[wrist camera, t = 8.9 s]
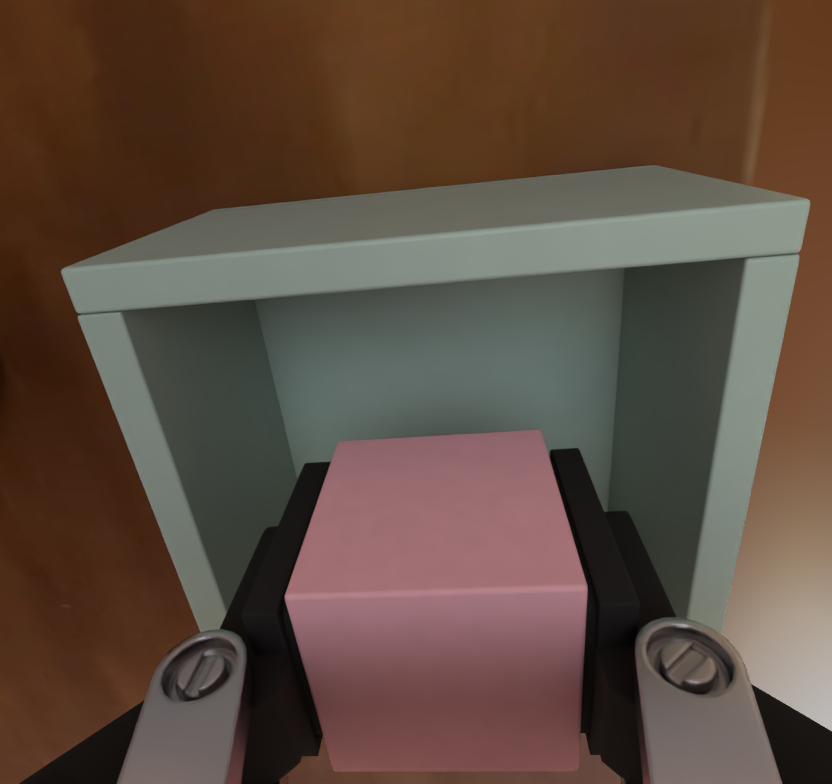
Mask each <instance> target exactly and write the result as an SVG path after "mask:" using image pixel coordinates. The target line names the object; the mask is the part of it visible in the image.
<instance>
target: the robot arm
mask: <svg viewBox="0 0 832 784" xmlns="http://www.w3.org/2000/svg"><path fill="white" fill-rule="evenodd" d="M549 458H550V461H551V465H552V468H553V472H554V475H555V478H556V482H557V485H558V488H559V492H560V495H561V499H562V502H563V505H564V509H565V512H566V515H567V519H568V522H569V525H570V529H571V532H572V536H573V539H574V542H575V546H576V549H577V552H578V556H579V559H580V563H581V566H582V569H583V573H584V576H585V579H586V583H587V586H588V594H587V614H586V633H585V653H584V672H583V692H582V711H581V731H580V733H586V737H587V742H588V746H589V751H590V755H600V756H601V760H602V762H603V763H605V764H606V765H607V766H608V767H610V768H611V769H612V770H613V771H614V772H616V773H617V774H618V775H619V776H620V777H621V784H832V731H830V730H828V729H827V728H825V727H823V726H821V725H820V724H818V723H816V722H815V721H813V720H811V719H810V718H808V717H806V716H805V715H803V714H801V713H799V712H798V711H796V710H794V709H792V708H791V707H789V706H788V705H786V704H784V703H782V702H781V701H779V700H777V699H776V698H774V697H772V696H771V695H769V694H767V693H765V692H763V691H762V690H760V689H759V688H757V687H755V686H753V685H752V684H751V682H750V680H749V676H748V673H747V670H746V667H745V664H744V662H743V660H742V658H741V656H740V654H739V652H738V651H737V650H736V649H735V647H734V646H733V645H732V644H731V643H730V642H729V641H728V640H727V639H726V638H725V637H724V636H722V635H721V634H720V633H718V632H717V631H715V630H714V629H713V628H711V627H708V626H706V625H704V624H702V623H699V622H697V621H694V620H689V619H685V618H681V617H677V616H676V614H675V612H674V610H673V608H672V606H671V603H670V601H669V599H668V597H667V595H666V592H665V590H664V588H663V586H662V584H661V581H660V579H659V577H658V575H657V573H656V571H655V568H654V566H653V564H652V562H651V560H650V557H649V555H648V553H647V551H646V549H645V546H644V544H643V542H642V540H641V538H640V536H639V533H638V531H637V529H636V527H635V525H634V522H633V520H632V518H631V516H630V515H629V513H628V512H626V511H610V512H604V510H603V508H602V505H601V503H600V500H599V498H598V495H597V493H596V490H595V488H594V485H593V482H592V480H591V477H590V475H589V472H588V470H587V467H586V465H585V462H584V460H583V457H582V455H581V452H580V450H579V448H567V449H551V450H550V454H549ZM330 463H331V462H314V463H305V464H304V466H303V468H302V471H301V473H300V475H299V478H298V480H297V482H296V485H295V487H294V490H293V492H292V494H291V497H290V499H289V501H288V504H287V506H286V509H285V511H284V513H283V516H282V518H281V520H280V523H279V525H278V526H272V527H268V528H266V529H265V531H264V532H263V534H262V536H261V538H260V540H259V542H258V545H257V547H256V549H255V551H254V554H253V556H252V558H251V560H250V562H249V565H248V567H247V569H246V571H245V574H244V576H243V578H242V580H241V582H240V585H239V587H238V589H237V591H236V593H235V596H234V598H233V600H232V602H231V605H230V607H229V609H228V611H227V613H226V616H225V618H224V620H223V622H222V625H221V627H220V629H215V630H207V631H204V632H200V633H197V634H194V635H192V636H190V637H189V638H187V639H185V640H183V641H181V642H180V643H179V644H177V645H176V646H175V647H174V648H172V649H171V650H170V651H169V652H168V653H167V654H166V655H165V656H164V658H163V659H162V660H161V661H160V662H159V664H158V666H157V668H156V670H155V672H154V674H153V676H152V679H151V682H150V685H149V688H148V691H147V694H146V697H145V700H144V701H143V702H141V703H140V704H138V705H137V706H135V707H134V708H132V709H131V710H129V711H128V712H126V713H125V714H123V715H122V716H120V717H119V718H117V719H116V720H114V721H113V722H111V723H110V724H108V725H107V726H105V727H103V728H102V729H100V730H99V731H97V732H96V733H94V734H93V735H91V736H90V737H88V738H87V739H85V740H84V741H82V742H81V743H79V744H78V745H76V746H75V747H73V748H72V749H70V750H69V751H67V752H66V753H64V754H63V755H61V756H60V757H58V758H57V759H55V760H54V761H52V762H51V763H49V764H48V765H46V766H45V767H43V768H42V769H40V770H39V771H37V772H36V773H34V774H33V775H31V776H30V777H28V778H27V779H25V780H24V781H22V782H21V783H20V784H288V772H289V771H291V770H292V769H293V768H294V767H295V766H296V765H298V764H299V763H300V761H301V757H302V756H318V754H319V749H320V744H321V739H322V735H323V733H322V729H321V726H320V722H319V719H318V715H317V711H316V708H315V704H314V701H313V697H312V694H311V690H310V687H309V683H308V680H307V676H306V673H305V669H304V666H303V662H302V659H301V655H300V651H299V648H298V644H297V641H296V637H295V634H294V630H293V627H292V623H291V620H290V616H289V613H288V609H287V606H286V602H285V593H286V590H287V588H288V585H289V582H290V579H291V576H292V573H293V570H294V567H295V564H296V561H297V559H298V556H299V553H300V550H301V547H302V544H303V541H304V538H305V535H306V533H307V530H308V527H309V524H310V521H311V518H312V515H313V512H314V509H315V506H316V504H317V501H318V498H319V495H320V492H321V489H322V486H323V483H324V480H325V477H326V475H327V472H328V469H329V466H330Z"/></svg>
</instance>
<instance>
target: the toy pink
mask: <svg viewBox="0 0 832 784" xmlns="http://www.w3.org/2000/svg"><path fill="white" fill-rule="evenodd" d="M587 594H588V586H587V583H586V579H585V576H584V573H583V569H582V566H581V563H580V559H579V556H578V552H577V549H576V546H575V542H574V539H573V536H572V532H571V529H570V525H569V522H568V519H567V515H566V512H565V509H564V505H563V502H562V499H561V495H560V492H559V488H558V485H557V482H556V478H555V475H554V472H553V468H552V465H551V461H550V458H549V455H548V451H547V448H546V445H545V441H544V438H543V434H542V432H541V431H540V430H523V431H506V432H489V433H472V434H455V435H438V436H420V437H403V438H386V439H369V440H352V441H340V442H338V443H337V446H336V448H335V451H334V454H333V457H332V460H331V463H330V466H329V469H328V472H327V475H326V477H325V480H324V483H323V486H322V489H321V492H320V495H319V498H318V501H317V504H316V506H315V509H314V512H313V515H312V518H311V521H310V524H309V527H308V530H307V533H306V535H305V538H304V541H303V544H302V547H301V550H300V553H299V556H298V559H297V561H296V564H295V567H294V570H293V573H292V576H291V579H290V582H289V585H288V588H287V590H286V593H285V602H286V606H287V609H288V613H289V616H290V620H291V623H292V627H293V630H294V634H295V637H296V641H297V644H298V648H299V651H300V655H301V659H302V662H303V666H304V669H305V673H306V676H307V680H308V683H309V687H310V690H311V694H312V697H313V701H314V704H315V708H316V711H317V715H318V719H319V722H320V726H321V729H322V733H323V736H324V740H325V743H326V747H327V750H328V754H329V757H330V761H331V764H332V768H333V770H334V771H337V772H349V771H576V770H578V767H579V750H580V731H581V711H582V692H583V672H584V653H585V633H586V614H587Z"/></svg>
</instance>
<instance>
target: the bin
mask: <svg viewBox="0 0 832 784" xmlns="http://www.w3.org/2000/svg"><path fill="white" fill-rule="evenodd" d="M809 208H810V201H809V200H808V199H805V198H801V197H797V196H792V195H787V194H783V193H779V192H774V191H770V190H765V189H761V188H756V187H752V186H747V185H743V184H738V183H734V182H729V181H725V180H720V179H715V178H711V177H706V176H702V175H697V174H693V173H688V172H684V171H679V170H675V169H670V168H666V167H662V166H658V165H648V166H638V167H629V168H619V169H609V170H599V171H589V172H579V173H569V174H559V175H550V176H540V177H530V178H520V179H510V180H500V181H490V182H480V183H470V184H461V185H451V186H441V187H431V188H421V189H411V190H401V191H391V192H382V193H372V194H362V195H352V196H342V197H332V198H322V199H312V200H302V201H293V202H283V203H273V204H263V205H253V206H243V207H233V208H223V209H214V210H212V211H209V212H207V213H204V214H202V215H199V216H196V217H194V218H191V219H189V220H186V221H184V222H181V223H178V224H176V225H173V226H171V227H168V228H166V229H163V230H160V231H158V232H155V233H153V234H150V235H147V236H145V237H142V238H140V239H137V240H135V241H132V242H129V243H127V244H124V245H122V246H119V247H116V248H114V249H111V250H109V251H106V252H104V253H101V254H98V255H96V256H93V257H91V258H88V259H85V260H83V261H80V262H78V263H75V264H73V265H70V266H67V267H65V268H63V269H62V270H61V274H62V277H63V279H64V282H65V285H66V287H67V290H68V292H69V295H70V297H71V300H72V302H73V305H74V308H75V310H76V312H77V313H79V314H81V315H79V316H78V320H79V323H80V326H81V328H82V331H83V333H84V336H85V338H86V341H87V343H88V346H89V349H90V351H91V354H92V356H93V359H94V361H95V364H96V366H97V369H98V372H99V374H100V377H101V379H102V382H103V384H104V387H105V389H106V392H107V395H108V397H109V400H110V402H111V405H112V407H113V410H114V413H115V415H116V418H117V420H118V423H119V425H120V428H121V430H122V433H123V436H124V438H125V441H126V443H127V446H128V448H129V451H130V453H131V456H132V459H133V461H134V464H135V466H136V469H137V471H138V474H139V476H140V479H141V482H142V484H143V487H144V489H145V492H146V494H147V497H148V499H149V502H150V505H151V507H152V510H153V512H154V515H155V517H156V520H157V523H158V525H159V528H160V530H161V533H162V535H163V538H164V540H165V543H166V546H167V548H168V551H169V553H170V556H171V558H172V561H173V563H174V566H175V569H176V571H177V574H178V576H179V579H180V581H181V584H182V586H183V589H184V592H185V594H186V597H187V599H188V602H189V604H190V607H191V609H192V612H193V615H194V617H195V620H196V622H197V625H198V627H199V630H200V632H204V631H207V630H215V629H220V627H221V625H222V622H223V620H224V618H225V616H226V613H227V611H228V609H229V607H230V605H231V602H232V600H233V598H234V596H235V593H236V591H237V589H238V587H239V585H240V582H241V580H242V578H243V576H244V574H245V571H246V569H247V567H248V565H249V562H250V560H251V558H252V556H253V554H254V551H255V549H256V547H257V545H258V542H259V540H260V538H261V536H262V534H263V532H264V531H265V529H266V528H268V527H272V526H278V525H279V523H280V520H281V518H282V516H283V513H284V511H285V509H286V506H287V504H288V501H289V499H290V497H291V494H292V492H293V490H294V487H295V485H296V482H297V480H298V478H299V475H300V473H301V471H302V468H303V466H304V464H305V463H314V462H331V460H332V457H333V454H334V451H335V448H336V446H337V443H338V442H340V441H352V440H369V439H386V438H403V437H420V436H438V435H455V434H472V433H489V432H506V431H523V430H540V431H541V432H542V434H543V438H544V441H545V445H546V448H547V451H548V455H549V454H550V450H551V449H567V448H579V450H580V452H581V455H582V457H583V460H584V462H585V465H586V467H587V470H588V472H589V475H590V477H591V480H592V482H593V485H594V488H595V490H596V493H597V495H598V498H599V500H600V503H601V505H602V508H603V510H604V512H610V511H626V512H628V513H629V515H630V516H631V518H632V520H633V522H634V525H635V527H636V529H637V531H638V533H639V536H640V538H641V540H642V542H643V544H644V546H645V549H646V551H647V553H648V555H649V557H650V560H651V562H652V564H653V566H654V568H655V571H656V573H657V575H658V577H659V579H660V581H661V584H662V586H663V588H664V590H665V592H666V595H667V597H668V599H669V601H670V603H671V606H672V608H673V610H674V612H675V614H676V616H677V617H681V618H685V619H689V620H694V621H697V622H699V623H702V624H704V625H706V626H708V627H711V628H713V629H714V630H715V631H717V632H718V633H720V634H722V629H723V624H724V619H725V614H726V609H727V605H728V600H729V595H730V590H731V586H732V581H733V576H734V571H735V566H736V562H737V556H738V551H739V547H740V542H741V538H742V532H743V528H744V523H745V518H746V514H747V509H748V504H749V499H750V494H751V489H752V485H753V480H754V475H755V470H756V465H757V460H758V456H759V451H760V446H761V441H762V436H763V432H764V427H765V422H766V417H767V412H768V408H769V403H770V398H771V393H772V389H773V383H774V379H775V374H776V369H777V365H778V360H779V354H780V350H781V345H782V340H783V336H784V331H785V326H786V321H787V316H788V311H789V307H790V302H791V297H792V292H793V288H794V283H795V278H796V273H797V268H798V264H799V255H797V254H795V253H797V252H799V251H800V249H801V246H802V242H803V237H804V232H805V227H806V222H807V218H808V213H809Z"/></svg>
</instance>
